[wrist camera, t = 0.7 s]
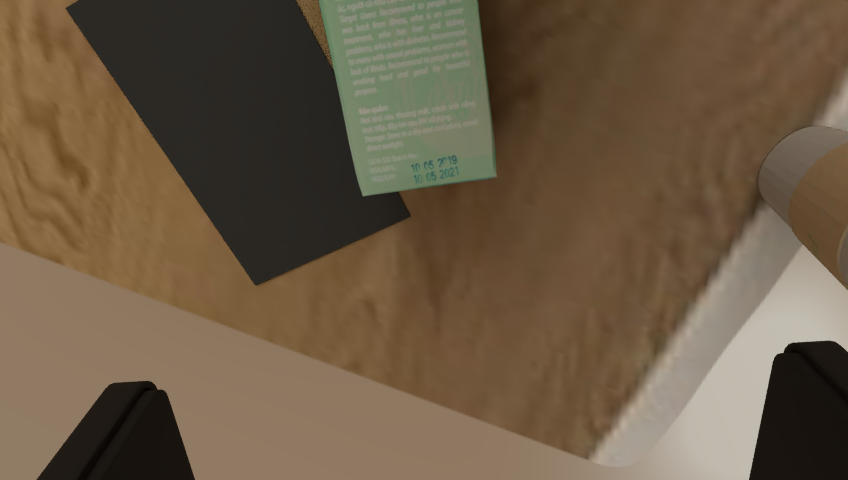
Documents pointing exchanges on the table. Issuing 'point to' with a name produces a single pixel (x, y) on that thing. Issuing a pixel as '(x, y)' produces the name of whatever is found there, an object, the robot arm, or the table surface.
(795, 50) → the table surface
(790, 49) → the table surface
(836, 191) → the coffee cup
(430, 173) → the box
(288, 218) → the mat
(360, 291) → the table surface
